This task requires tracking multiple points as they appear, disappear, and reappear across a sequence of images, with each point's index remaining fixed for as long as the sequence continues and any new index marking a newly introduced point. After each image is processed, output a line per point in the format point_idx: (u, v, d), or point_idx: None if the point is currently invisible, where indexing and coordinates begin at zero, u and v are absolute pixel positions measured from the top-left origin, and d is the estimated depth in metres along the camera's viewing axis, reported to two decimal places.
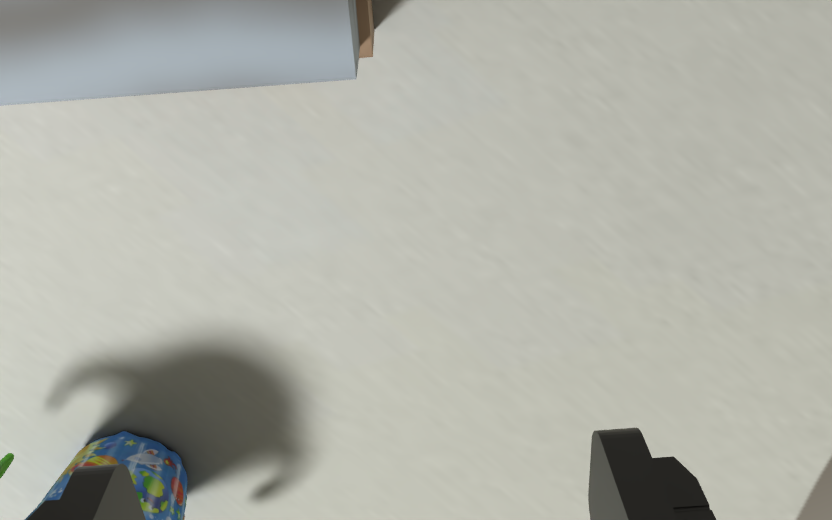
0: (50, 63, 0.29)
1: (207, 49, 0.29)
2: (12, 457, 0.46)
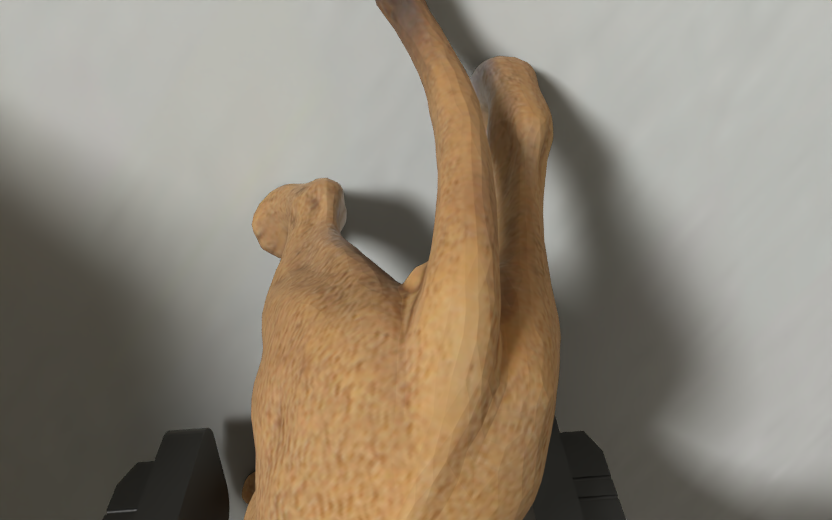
0: None
1: None
2: None
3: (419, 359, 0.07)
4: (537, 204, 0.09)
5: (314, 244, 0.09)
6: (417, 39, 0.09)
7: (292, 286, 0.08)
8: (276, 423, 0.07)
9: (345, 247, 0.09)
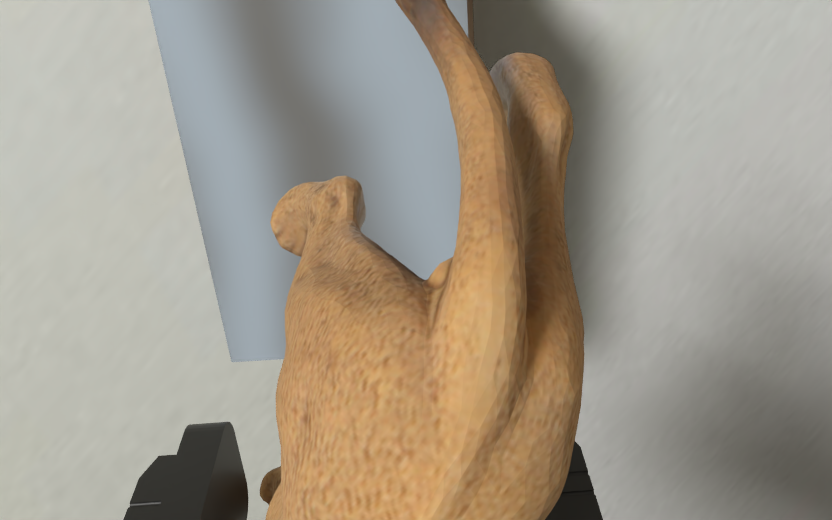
0: (208, 47, 0.22)
1: (247, 226, 0.25)
2: None
3: (447, 354, 0.07)
4: (558, 200, 0.09)
5: (334, 242, 0.09)
6: (437, 36, 0.09)
7: (315, 283, 0.08)
8: (302, 420, 0.07)
9: (367, 244, 0.09)
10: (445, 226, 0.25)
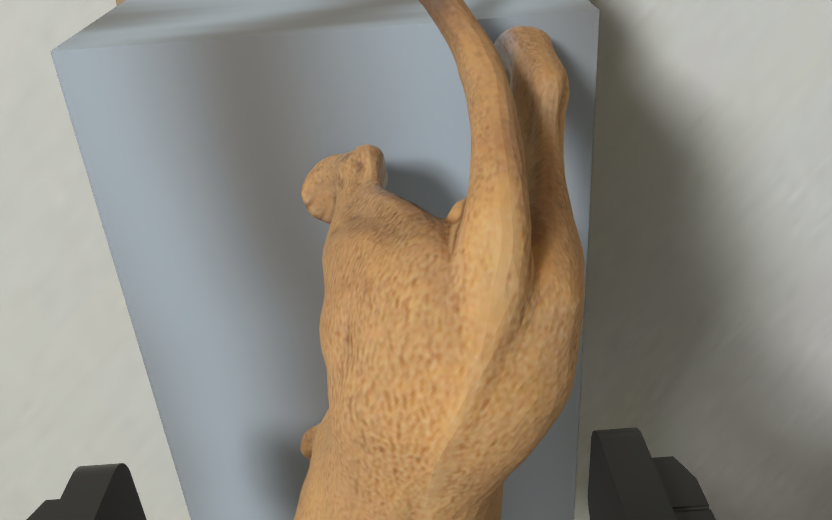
0: (174, 195, 0.14)
1: (238, 439, 0.17)
2: None
3: (465, 272, 0.08)
4: (558, 150, 0.10)
5: (362, 199, 0.11)
6: (444, 13, 0.11)
7: (349, 230, 0.10)
8: (345, 340, 0.09)
9: (392, 196, 0.10)
10: None
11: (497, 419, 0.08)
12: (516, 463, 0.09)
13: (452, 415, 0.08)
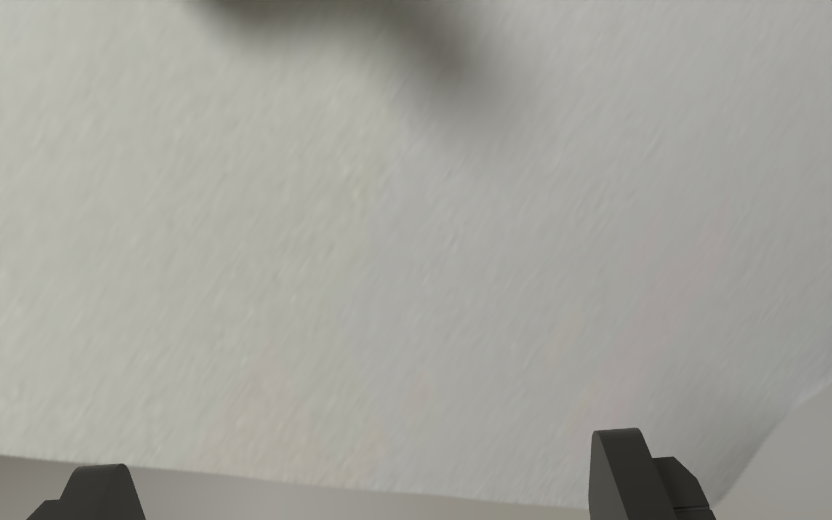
0: None
1: None
2: None
3: None
4: None
5: None
6: None
7: None
8: None
9: None
10: None
11: None
12: None
13: None
